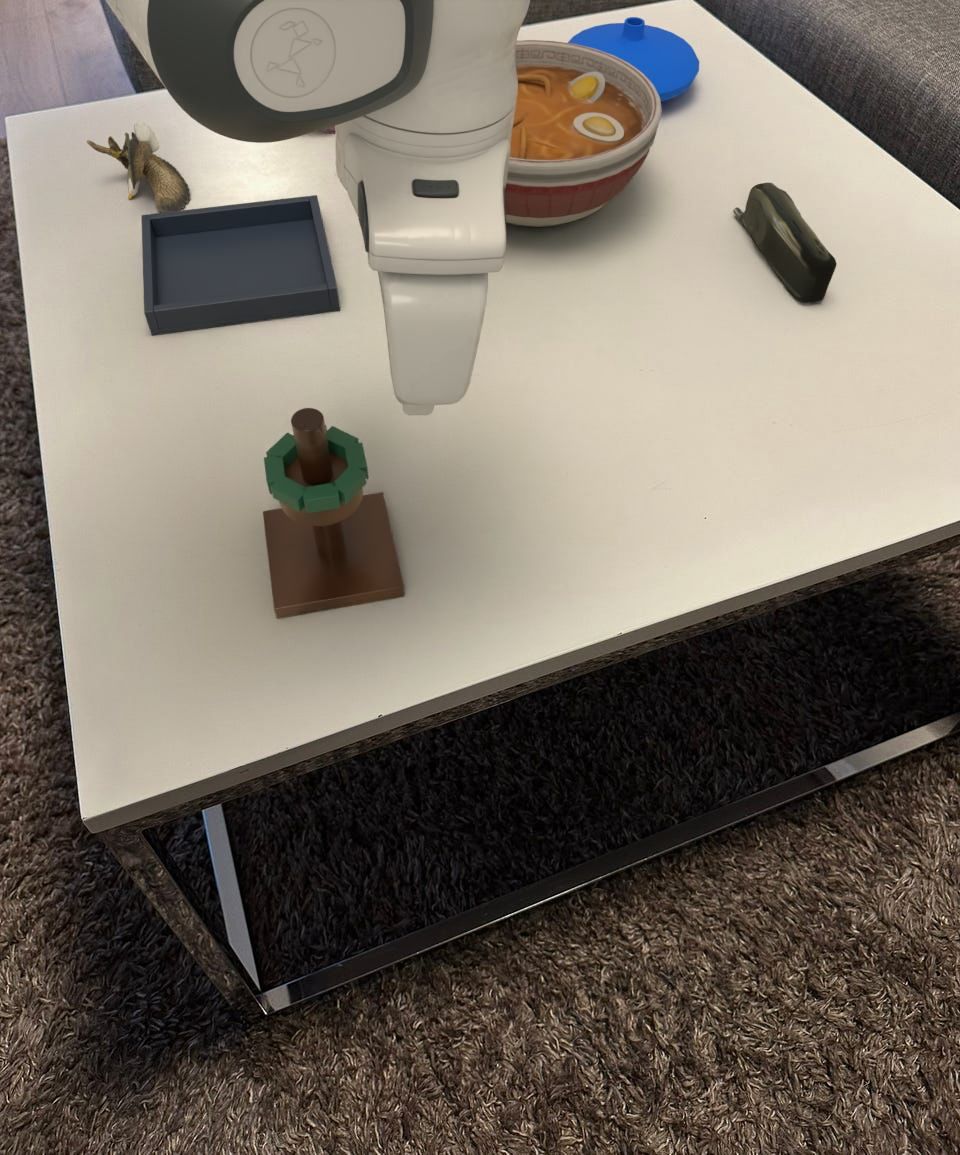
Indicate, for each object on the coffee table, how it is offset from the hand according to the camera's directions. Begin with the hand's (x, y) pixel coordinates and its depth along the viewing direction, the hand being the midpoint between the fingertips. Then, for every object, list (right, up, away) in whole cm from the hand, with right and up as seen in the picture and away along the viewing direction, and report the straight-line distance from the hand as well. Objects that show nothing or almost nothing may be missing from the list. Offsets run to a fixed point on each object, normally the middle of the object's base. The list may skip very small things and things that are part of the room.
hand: (410, 353), depth 60 cm
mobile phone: (+33, +17, +32) cm, 49 cm away
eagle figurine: (-29, +25, +37) cm, 53 cm away
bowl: (+10, +25, +38) cm, 46 cm away
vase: (+21, +43, +51) cm, 70 cm away
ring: (-6, -7, +3) cm, 10 cm away
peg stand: (-6, -13, +10) cm, 17 cm away
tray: (-18, +14, +30) cm, 38 cm away
